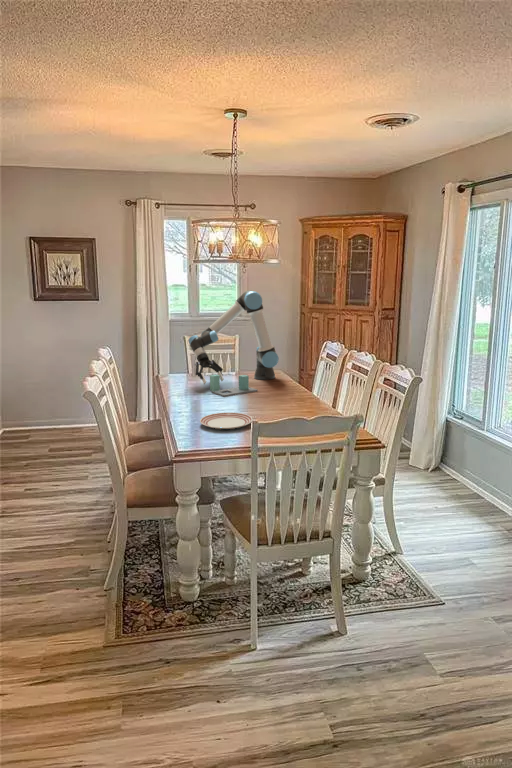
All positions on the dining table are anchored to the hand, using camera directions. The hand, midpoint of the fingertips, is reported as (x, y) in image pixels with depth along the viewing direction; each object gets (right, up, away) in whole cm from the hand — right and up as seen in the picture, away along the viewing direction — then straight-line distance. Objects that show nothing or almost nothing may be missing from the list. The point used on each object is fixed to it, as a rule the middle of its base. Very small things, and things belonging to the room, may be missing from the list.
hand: (214, 381), depth 389 cm
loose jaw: (0, -6, +2) cm, 6 cm away
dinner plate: (+12, -23, -79) cm, 84 cm away
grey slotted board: (+14, -7, -4) cm, 16 cm away
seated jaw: (+19, -6, 0) cm, 20 cm away
